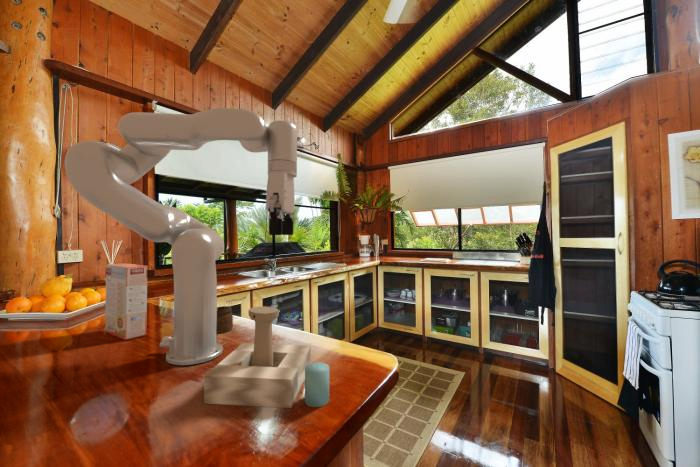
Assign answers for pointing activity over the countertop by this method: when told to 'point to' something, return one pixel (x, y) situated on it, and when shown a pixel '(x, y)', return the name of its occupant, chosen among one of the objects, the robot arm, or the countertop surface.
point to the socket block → (258, 377)
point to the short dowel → (317, 384)
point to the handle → (263, 335)
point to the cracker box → (126, 300)
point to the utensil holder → (224, 319)
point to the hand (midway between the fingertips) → (281, 234)
